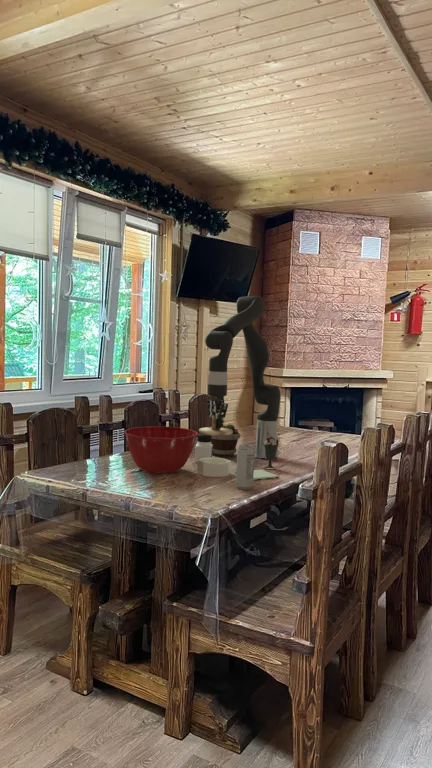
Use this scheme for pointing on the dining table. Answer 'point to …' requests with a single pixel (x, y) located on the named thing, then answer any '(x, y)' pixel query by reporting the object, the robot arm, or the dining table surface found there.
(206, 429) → the lid
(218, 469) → the bowl
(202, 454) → the medicine bottle
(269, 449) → the sundae
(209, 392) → the robot arm
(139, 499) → the dining table surface
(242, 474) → the energy drink can
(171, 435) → the mixing bowl
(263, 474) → the mat
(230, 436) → the flowerpot
